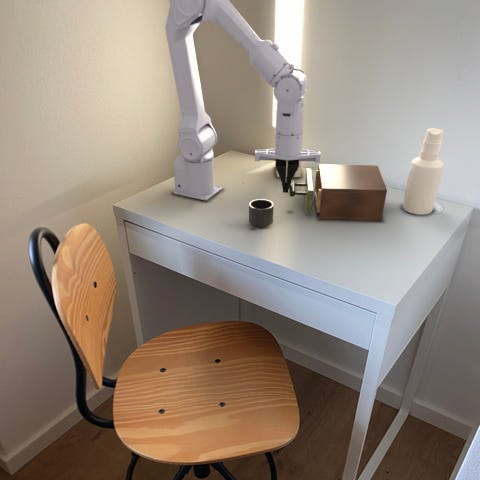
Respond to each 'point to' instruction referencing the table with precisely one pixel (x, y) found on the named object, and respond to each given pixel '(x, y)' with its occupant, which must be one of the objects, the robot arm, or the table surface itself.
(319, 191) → the drawer
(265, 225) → the dark grey cup
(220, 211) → the table surface
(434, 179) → the spray bottle
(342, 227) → the table surface
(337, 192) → the cabinet
